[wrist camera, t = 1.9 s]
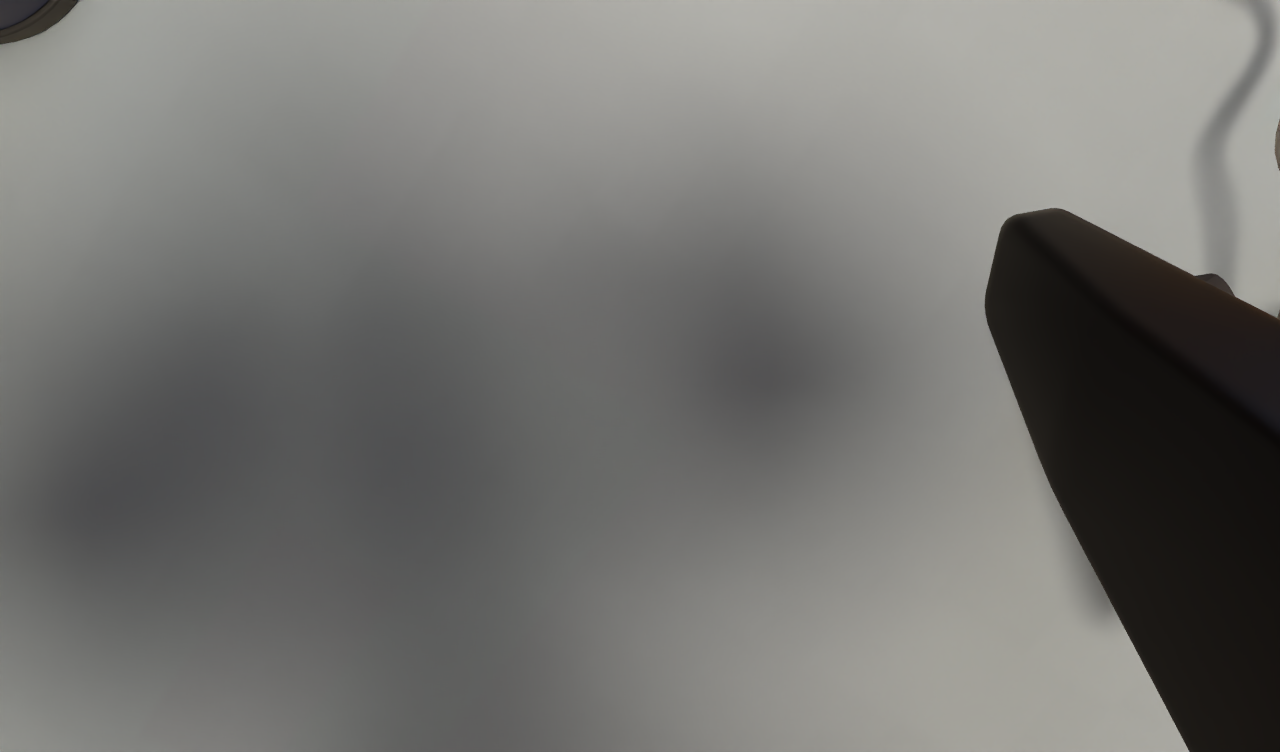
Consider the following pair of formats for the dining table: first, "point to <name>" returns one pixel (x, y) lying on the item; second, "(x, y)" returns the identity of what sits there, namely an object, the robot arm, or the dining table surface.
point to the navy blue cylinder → (29, 17)
